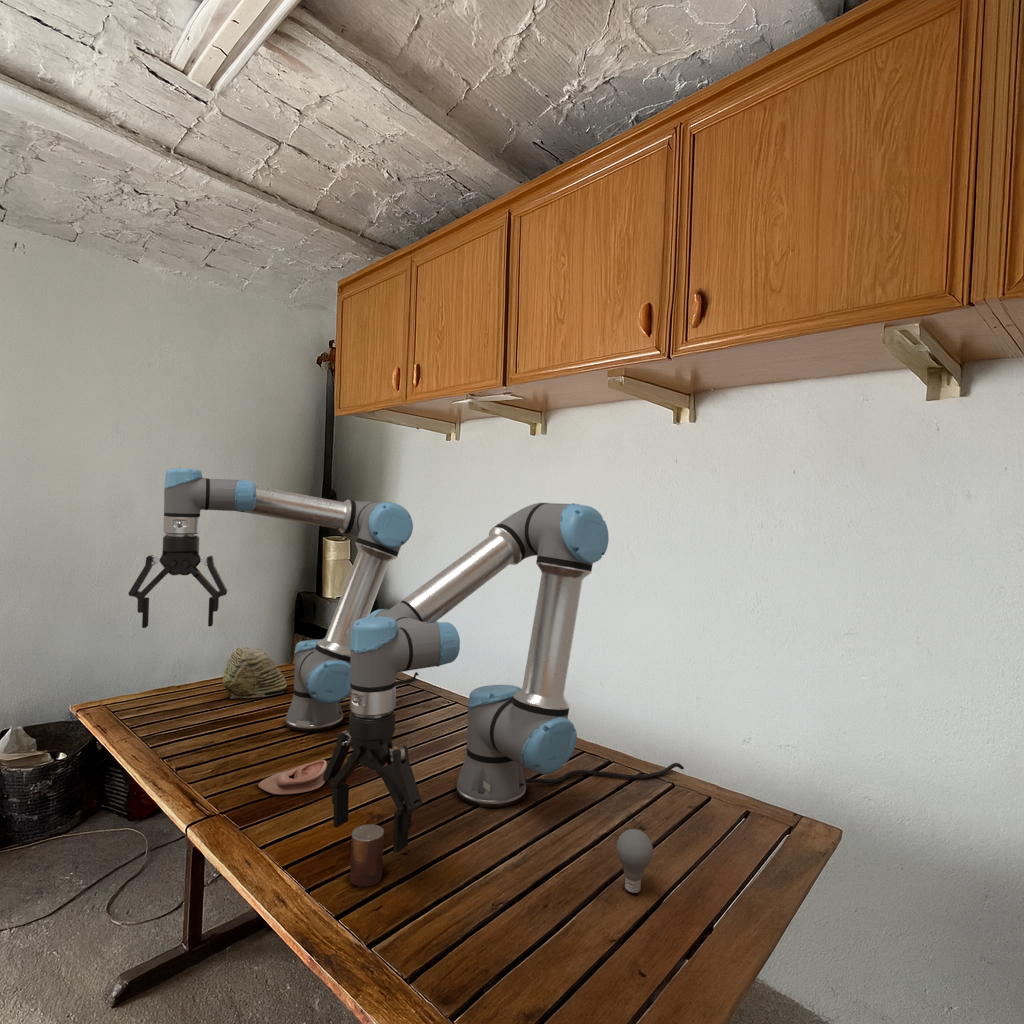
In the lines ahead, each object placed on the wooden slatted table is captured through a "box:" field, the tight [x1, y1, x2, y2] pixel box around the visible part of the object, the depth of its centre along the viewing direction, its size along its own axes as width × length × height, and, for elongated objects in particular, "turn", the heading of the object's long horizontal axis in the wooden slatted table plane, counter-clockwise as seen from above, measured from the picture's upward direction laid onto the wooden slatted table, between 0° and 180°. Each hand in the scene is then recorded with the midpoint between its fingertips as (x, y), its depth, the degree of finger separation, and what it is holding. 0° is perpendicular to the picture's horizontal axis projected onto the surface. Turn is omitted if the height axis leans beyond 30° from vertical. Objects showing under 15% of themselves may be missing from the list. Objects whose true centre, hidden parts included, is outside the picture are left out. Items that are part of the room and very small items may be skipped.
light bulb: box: [615, 828, 654, 894], centre depth 106 cm, size 6×6×10 cm
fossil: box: [222, 646, 288, 699], centre depth 198 cm, size 9×18×15 cm, turn 132°
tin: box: [349, 823, 385, 888], centre depth 106 cm, size 5×5×8 cm
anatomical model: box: [257, 759, 328, 795], centre depth 139 cm, size 13×4×12 cm
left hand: (178, 626), depth 147 cm, fingers open, 13 cm apart
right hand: (369, 836), depth 107 cm, fingers open, 13 cm apart
